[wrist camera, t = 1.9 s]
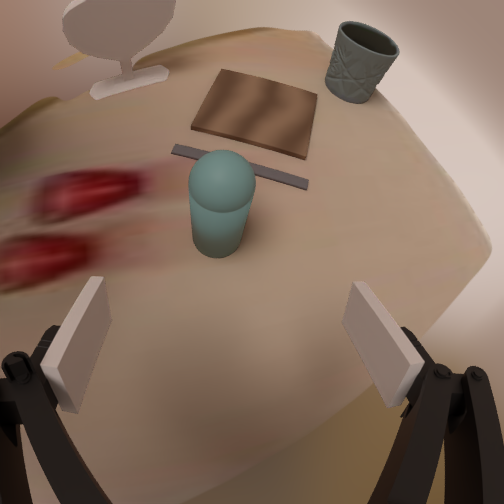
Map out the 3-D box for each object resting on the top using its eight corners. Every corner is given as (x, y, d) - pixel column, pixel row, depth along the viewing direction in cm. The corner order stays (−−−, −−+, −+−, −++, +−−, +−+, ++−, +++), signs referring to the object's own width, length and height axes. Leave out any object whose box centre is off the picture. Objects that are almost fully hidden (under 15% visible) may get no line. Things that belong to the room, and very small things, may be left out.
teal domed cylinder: (186, 250, 35) (176, 184, 22) (201, 207, 37) (201, 129, 24) (234, 263, 35) (250, 204, 22) (246, 220, 37) (267, 146, 24)
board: (190, 129, 40) (190, 125, 40) (221, 72, 46) (221, 68, 45) (304, 159, 41) (306, 156, 40) (316, 97, 46) (317, 94, 46)
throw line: (171, 153, 39) (171, 152, 38) (175, 145, 39) (175, 143, 39) (306, 190, 40) (307, 189, 39) (308, 181, 40) (308, 179, 40)
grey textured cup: (382, 103, 49) (411, 56, 38) (341, 110, 46) (368, 56, 35) (349, 68, 51) (371, 22, 40) (308, 72, 49) (327, 19, 37)
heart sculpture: (171, 62, 45) (170, -29, 29) (178, 77, 44) (177, -19, 27) (83, 86, 42) (60, -1, 25) (84, 104, 40) (56, 11, 23)
